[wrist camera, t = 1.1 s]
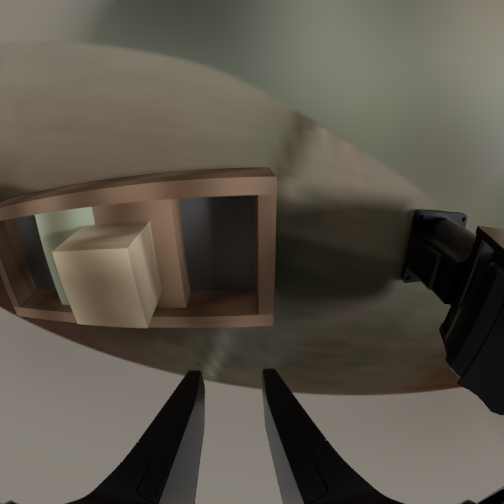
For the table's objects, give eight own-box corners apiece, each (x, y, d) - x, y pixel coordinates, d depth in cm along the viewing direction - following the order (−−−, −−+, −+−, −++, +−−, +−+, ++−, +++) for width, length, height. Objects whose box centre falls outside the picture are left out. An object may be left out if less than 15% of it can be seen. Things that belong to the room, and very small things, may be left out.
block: (150, 220, 16) (127, 248, 12) (162, 290, 18) (147, 328, 15) (83, 226, 16) (51, 251, 12) (100, 290, 18) (77, 323, 14)
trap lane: (269, 167, 17) (276, 176, 14) (268, 296, 22) (273, 325, 19) (6, 199, 17) (-18, 212, 13) (35, 295, 21) (17, 315, 18)
